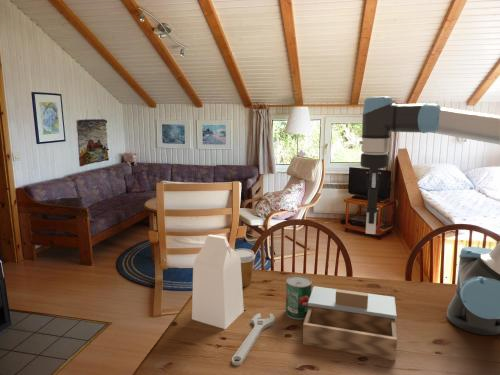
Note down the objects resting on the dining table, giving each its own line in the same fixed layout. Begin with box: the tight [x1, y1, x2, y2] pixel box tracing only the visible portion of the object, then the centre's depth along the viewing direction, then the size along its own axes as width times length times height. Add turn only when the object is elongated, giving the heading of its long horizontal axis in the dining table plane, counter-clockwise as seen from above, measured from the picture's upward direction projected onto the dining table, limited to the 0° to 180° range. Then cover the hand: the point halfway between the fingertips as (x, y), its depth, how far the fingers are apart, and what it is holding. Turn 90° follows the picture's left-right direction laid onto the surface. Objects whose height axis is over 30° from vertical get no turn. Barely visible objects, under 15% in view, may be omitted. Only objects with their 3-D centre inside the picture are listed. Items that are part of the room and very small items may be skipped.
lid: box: [308, 285, 397, 320], centre depth 116 cm, size 25×11×5 cm, turn 73°
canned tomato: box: [285, 275, 313, 321], centre depth 122 cm, size 8×8×11 cm
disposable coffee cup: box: [233, 248, 256, 288], centre depth 143 cm, size 10×10×12 cm
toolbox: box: [302, 306, 398, 361], centre depth 108 cm, size 24×11×6 cm, turn 73°
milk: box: [191, 234, 245, 330], centre depth 119 cm, size 12×12×26 cm
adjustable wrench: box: [231, 312, 276, 366], centre depth 110 cm, size 25×6×2 cm, turn 154°
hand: (370, 233), depth 113 cm, fingers closed
